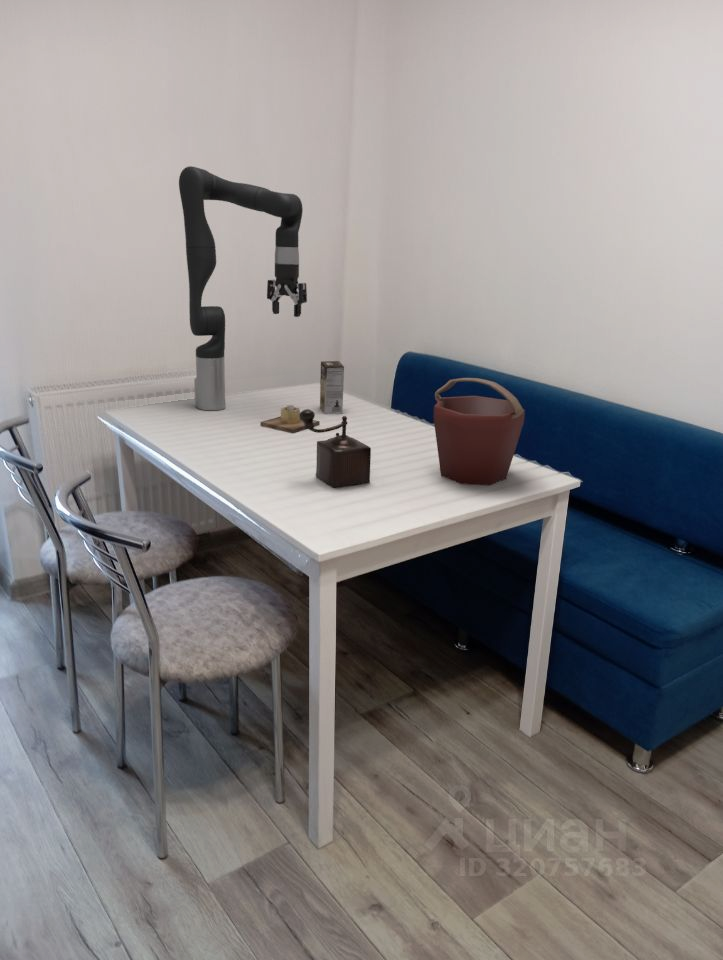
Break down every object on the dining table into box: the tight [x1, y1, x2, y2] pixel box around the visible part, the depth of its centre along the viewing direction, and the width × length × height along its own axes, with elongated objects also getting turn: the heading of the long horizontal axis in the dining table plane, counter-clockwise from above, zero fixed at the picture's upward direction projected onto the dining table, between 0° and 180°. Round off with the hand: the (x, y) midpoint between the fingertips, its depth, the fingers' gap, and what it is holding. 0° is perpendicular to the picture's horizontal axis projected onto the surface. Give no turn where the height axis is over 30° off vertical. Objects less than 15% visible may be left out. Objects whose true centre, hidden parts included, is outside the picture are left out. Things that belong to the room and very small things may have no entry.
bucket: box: [433, 377, 526, 486], centre depth 205 cm, size 24×22×25 cm
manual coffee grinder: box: [299, 408, 372, 489], centre depth 198 cm, size 16×11×18 cm
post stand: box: [260, 404, 320, 434], centre depth 249 cm, size 13×13×6 cm
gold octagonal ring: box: [280, 406, 301, 424], centre depth 249 cm, size 6×6×4 cm
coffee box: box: [319, 360, 345, 415], centre depth 267 cm, size 9×6×16 cm
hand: (286, 315), depth 252 cm, fingers open, 8 cm apart
